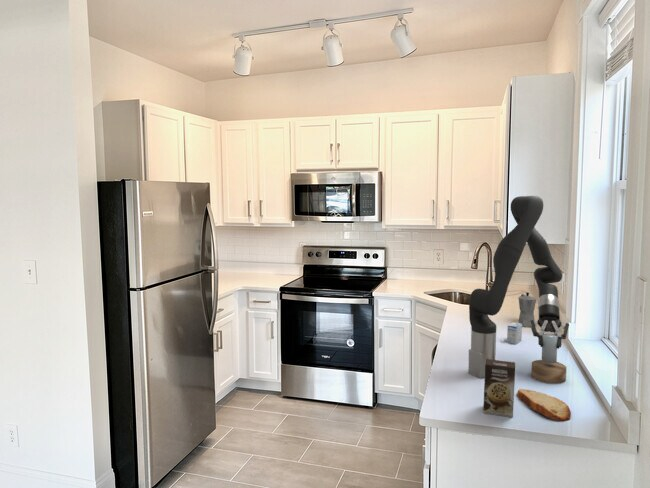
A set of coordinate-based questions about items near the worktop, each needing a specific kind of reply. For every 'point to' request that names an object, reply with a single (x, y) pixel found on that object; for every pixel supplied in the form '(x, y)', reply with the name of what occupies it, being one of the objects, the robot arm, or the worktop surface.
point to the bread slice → (545, 405)
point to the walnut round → (548, 372)
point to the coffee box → (499, 387)
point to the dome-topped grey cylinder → (549, 348)
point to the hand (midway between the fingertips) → (550, 346)
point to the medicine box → (514, 333)
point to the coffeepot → (526, 309)
